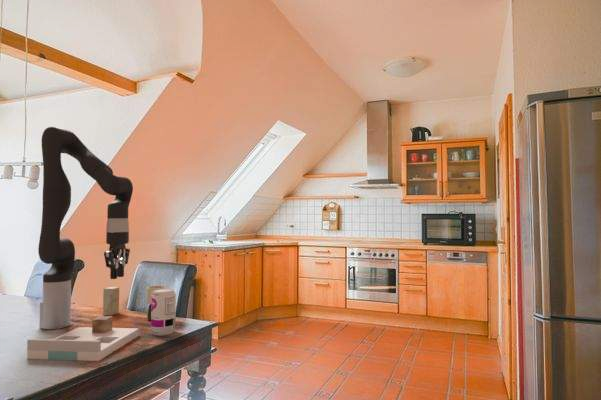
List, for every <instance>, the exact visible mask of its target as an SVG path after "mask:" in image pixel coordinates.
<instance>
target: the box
mask: <svg viewBox="0 0 601 400" xmlns="http://www.w3.org/2000/svg"><path fill="white" fill-rule="evenodd" d="M102 296H103V297H102V298H103V300H102V301H103V302H102V316H113V315H116V314H119V312H120V287H119V286H110V287H106V288H103V295H102Z"/></svg>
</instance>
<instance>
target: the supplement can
mask: <svg viewBox="0 0 601 400" xmlns="http://www.w3.org/2000/svg"><path fill="white" fill-rule="evenodd" d="M176 296H177V295H176V292H175V290H174V289H173V288H165V289H158V290H154V291H153V293H152V295H151V319H150V333H151V334H152V335H153V336H158V337H159V336H163V337H164V336H168V335H171V334H173V333H174V332H175V331H176V309H177V307H176V306H177V305H176Z"/></svg>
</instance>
